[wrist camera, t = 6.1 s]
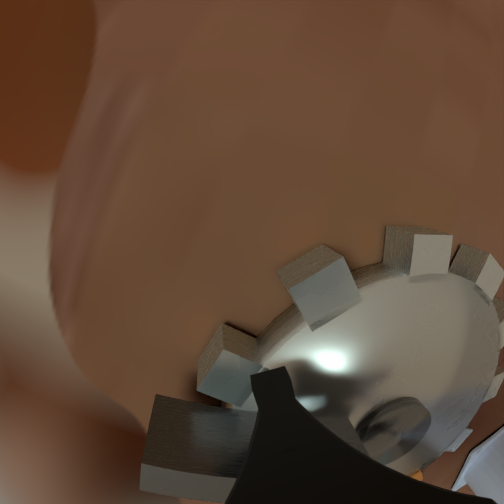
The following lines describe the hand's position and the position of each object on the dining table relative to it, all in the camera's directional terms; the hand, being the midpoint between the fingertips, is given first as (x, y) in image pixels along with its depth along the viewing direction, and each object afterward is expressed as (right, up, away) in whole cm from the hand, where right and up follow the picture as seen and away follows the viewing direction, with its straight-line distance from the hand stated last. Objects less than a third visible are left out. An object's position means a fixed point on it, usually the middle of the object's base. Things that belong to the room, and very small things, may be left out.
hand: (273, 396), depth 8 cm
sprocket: (+5, -3, +4) cm, 7 cm away
